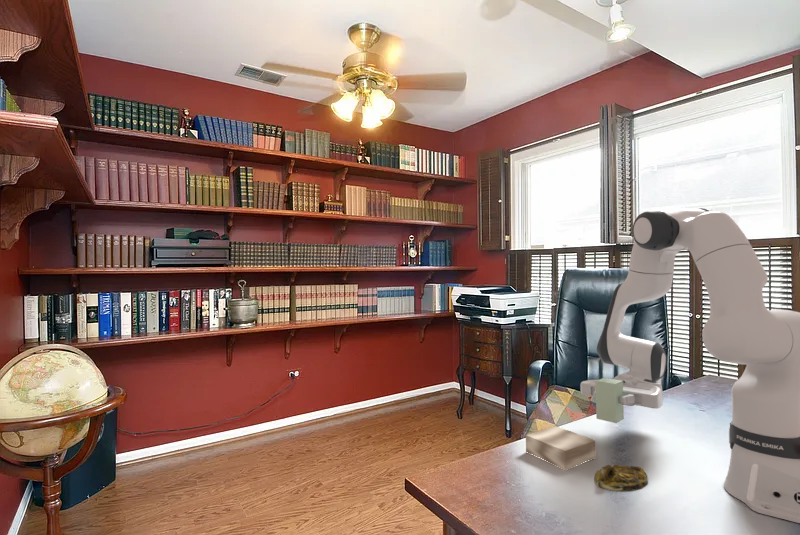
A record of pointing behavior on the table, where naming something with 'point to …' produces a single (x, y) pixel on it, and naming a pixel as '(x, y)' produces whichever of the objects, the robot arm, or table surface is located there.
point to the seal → (621, 478)
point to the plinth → (560, 447)
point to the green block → (609, 400)
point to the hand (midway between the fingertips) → (608, 398)
